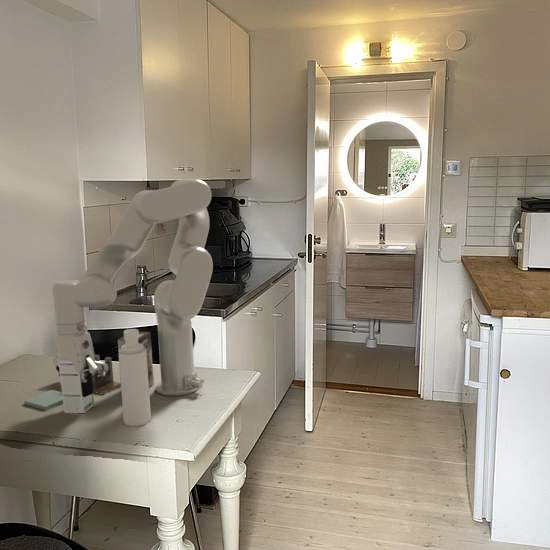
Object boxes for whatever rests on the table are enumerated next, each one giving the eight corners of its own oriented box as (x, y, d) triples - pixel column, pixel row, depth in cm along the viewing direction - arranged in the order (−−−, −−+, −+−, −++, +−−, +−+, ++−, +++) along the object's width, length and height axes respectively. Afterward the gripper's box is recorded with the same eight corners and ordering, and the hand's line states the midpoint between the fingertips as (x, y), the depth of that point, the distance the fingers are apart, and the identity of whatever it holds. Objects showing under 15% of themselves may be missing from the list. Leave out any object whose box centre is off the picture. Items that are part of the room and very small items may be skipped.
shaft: (111, 374, 167) (109, 357, 166) (97, 380, 163) (96, 363, 162) (70, 366, 176) (68, 350, 175) (56, 371, 171) (54, 354, 170)
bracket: (122, 386, 167) (119, 358, 165) (103, 394, 161) (101, 366, 159) (93, 379, 173) (91, 353, 171) (74, 387, 167) (71, 360, 165)
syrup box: (84, 414, 148) (79, 361, 145) (63, 413, 149) (58, 360, 146) (94, 405, 153) (90, 354, 151) (74, 404, 154) (69, 353, 152)
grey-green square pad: (73, 398, 159) (73, 395, 158) (46, 410, 151) (45, 406, 151) (51, 393, 163) (51, 389, 163) (24, 404, 155) (24, 400, 155)
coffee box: (141, 395, 159) (137, 340, 156) (120, 394, 160) (116, 339, 158) (154, 384, 168) (151, 331, 165) (134, 383, 169) (130, 330, 166)
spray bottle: (142, 427, 139) (135, 328, 135) (118, 424, 141) (111, 327, 137) (155, 416, 145) (149, 321, 141) (132, 413, 147) (125, 320, 143)
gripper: (106, 328, 146) (111, 393, 149) (60, 320, 155) (66, 382, 158) (83, 335, 140) (89, 403, 143) (37, 327, 148) (43, 392, 151)
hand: (77, 392), depth 150 cm, fingers closed on syrup box, 7 cm apart
